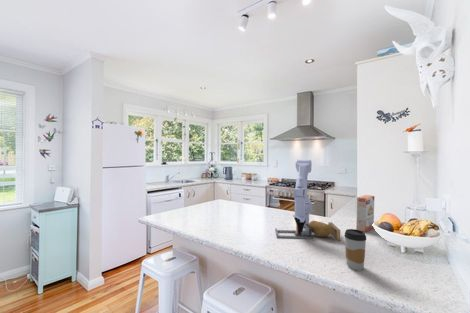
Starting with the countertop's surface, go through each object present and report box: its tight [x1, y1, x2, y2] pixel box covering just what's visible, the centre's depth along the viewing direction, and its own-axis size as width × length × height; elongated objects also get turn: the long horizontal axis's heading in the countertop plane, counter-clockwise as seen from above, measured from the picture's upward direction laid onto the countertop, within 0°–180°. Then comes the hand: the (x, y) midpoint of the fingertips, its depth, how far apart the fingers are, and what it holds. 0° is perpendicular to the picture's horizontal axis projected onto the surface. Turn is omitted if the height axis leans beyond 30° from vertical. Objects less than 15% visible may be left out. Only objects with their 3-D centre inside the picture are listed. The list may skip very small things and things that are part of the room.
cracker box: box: [356, 194, 375, 233], centre depth 144 cm, size 14×6×21 cm, turn 131°
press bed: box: [274, 221, 341, 242], centre depth 133 cm, size 14×34×6 cm, turn 85°
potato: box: [309, 220, 333, 238], centre depth 132 cm, size 10×14×8 cm
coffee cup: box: [343, 228, 367, 271], centre depth 96 cm, size 8×8×15 cm
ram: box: [293, 222, 313, 237], centre depth 133 cm, size 9×9×7 cm
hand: (299, 230), depth 133 cm, fingers closed on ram, 3 cm apart
